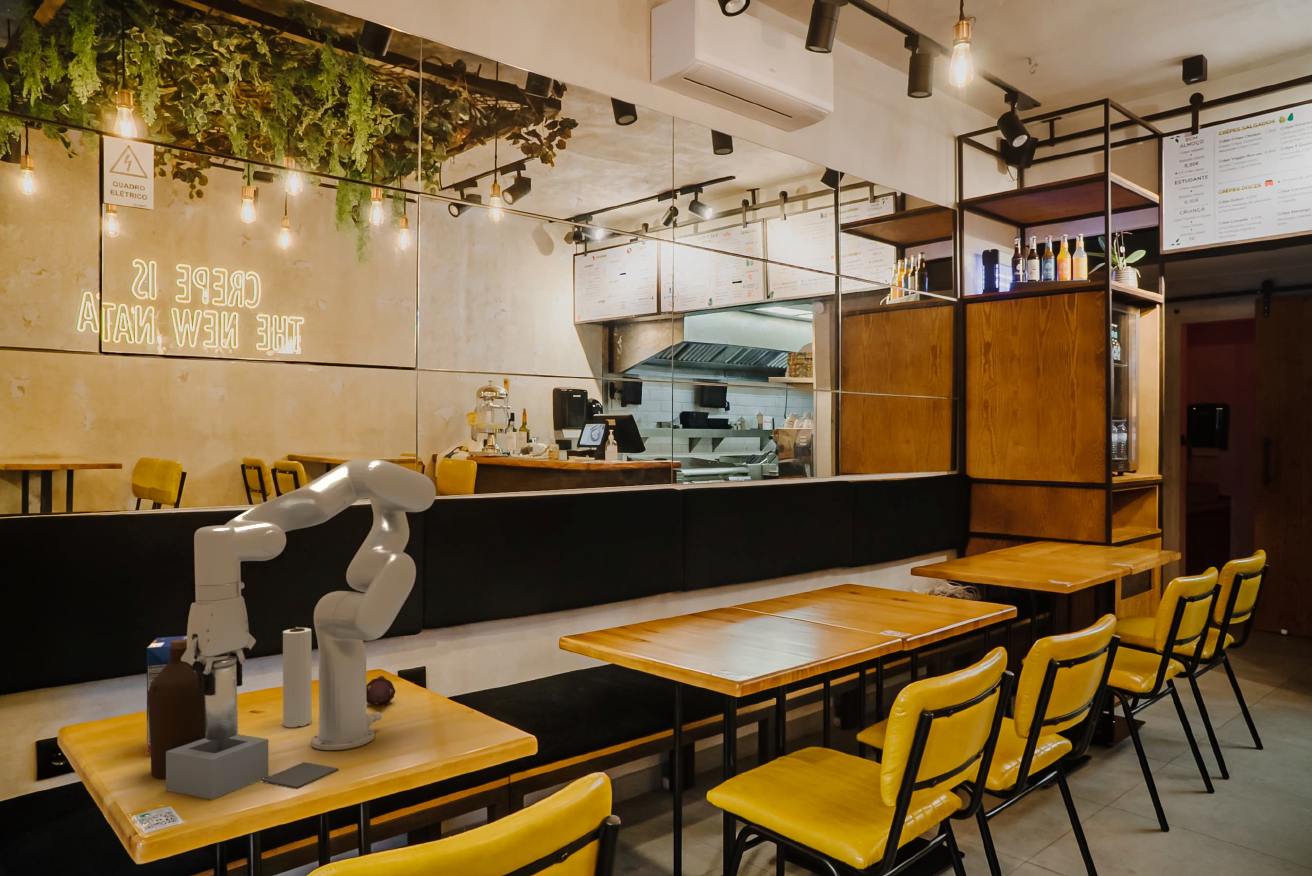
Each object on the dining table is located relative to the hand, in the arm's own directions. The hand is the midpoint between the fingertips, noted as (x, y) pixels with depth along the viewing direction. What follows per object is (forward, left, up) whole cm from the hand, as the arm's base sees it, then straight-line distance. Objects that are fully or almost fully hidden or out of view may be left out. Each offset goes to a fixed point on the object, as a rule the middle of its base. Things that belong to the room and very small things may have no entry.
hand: (220, 688), depth 158 cm
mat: (-8, +11, -17) cm, 22 cm away
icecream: (-51, -8, -18) cm, 55 cm away
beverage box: (-11, -28, -17) cm, 35 cm away
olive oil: (-2, -13, -17) cm, 22 cm away
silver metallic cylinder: (0, 0, -9) cm, 9 cm away
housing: (0, 0, -17) cm, 17 cm away
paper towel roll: (-33, -15, -17) cm, 40 cm away
